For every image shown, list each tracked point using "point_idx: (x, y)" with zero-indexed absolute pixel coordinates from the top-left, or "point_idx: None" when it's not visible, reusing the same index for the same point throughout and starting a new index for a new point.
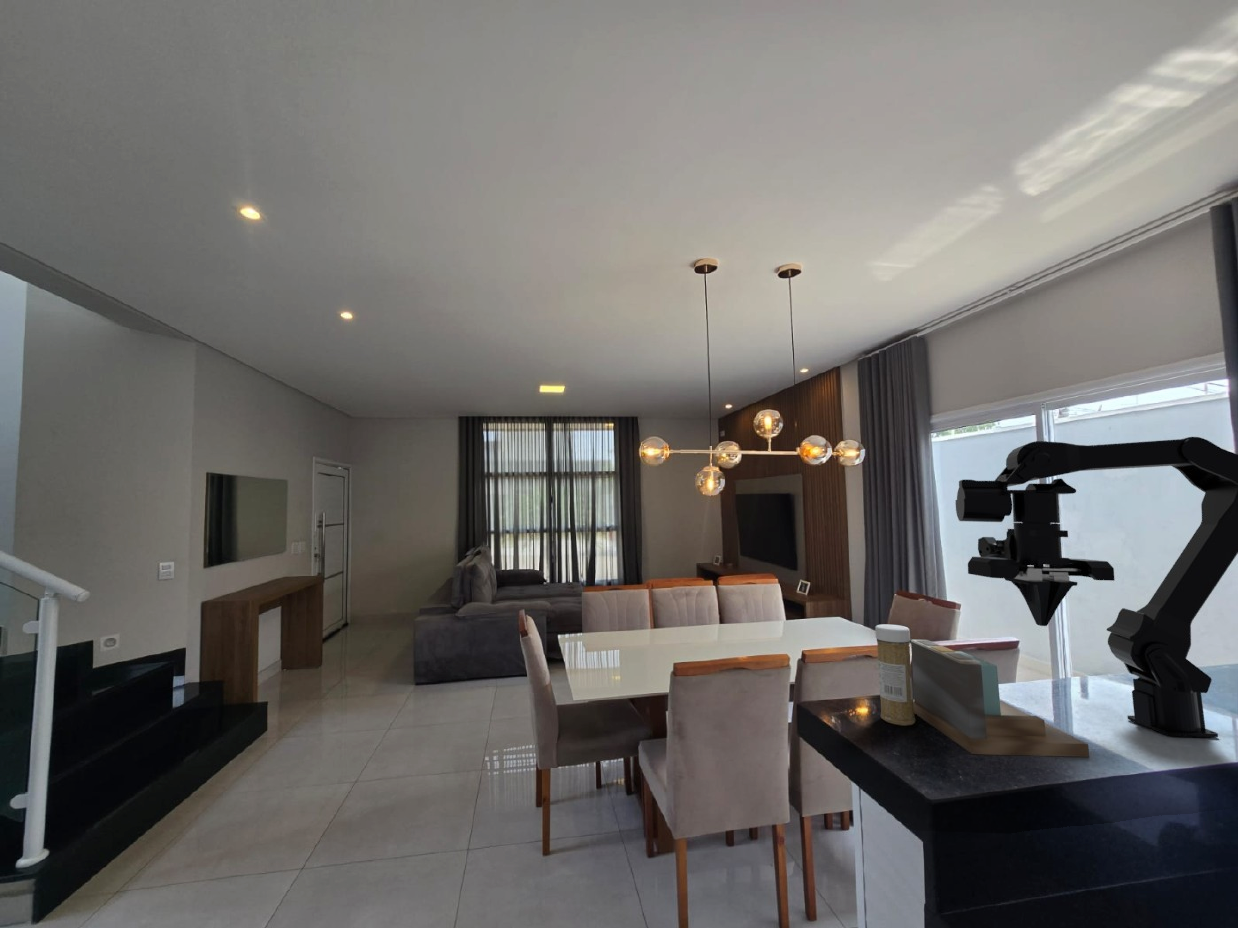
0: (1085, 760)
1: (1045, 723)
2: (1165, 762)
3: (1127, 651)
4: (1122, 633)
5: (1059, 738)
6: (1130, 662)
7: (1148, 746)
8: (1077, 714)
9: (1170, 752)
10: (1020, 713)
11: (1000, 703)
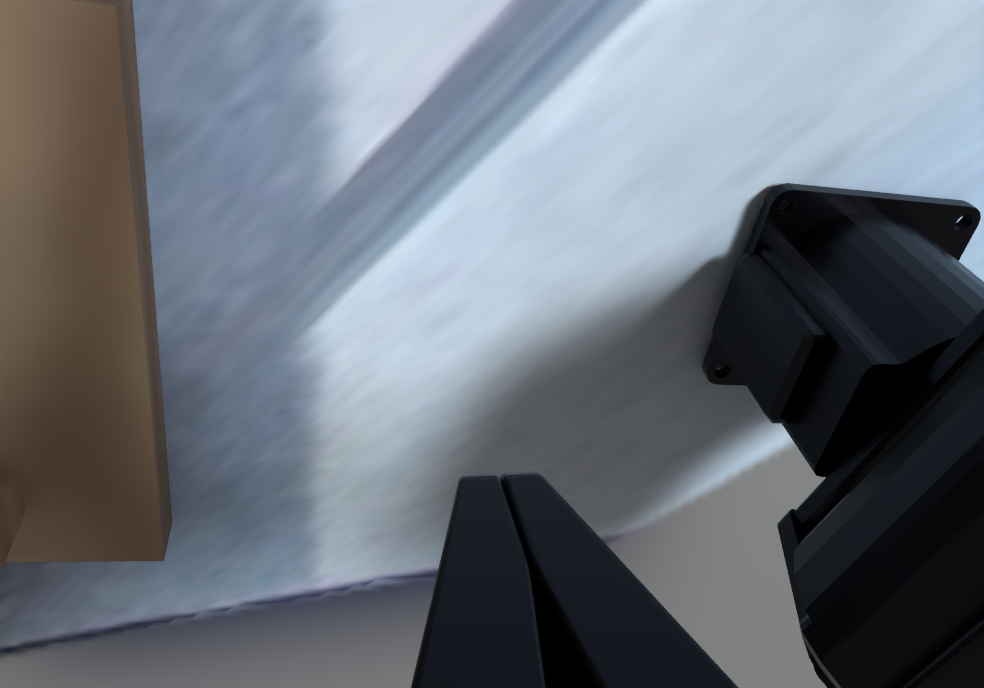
0: None
1: (139, 385)
2: (418, 543)
3: (832, 601)
4: (963, 670)
5: (76, 525)
6: (839, 511)
7: (507, 441)
8: (597, 83)
9: None
10: (94, 252)
11: (69, 66)
